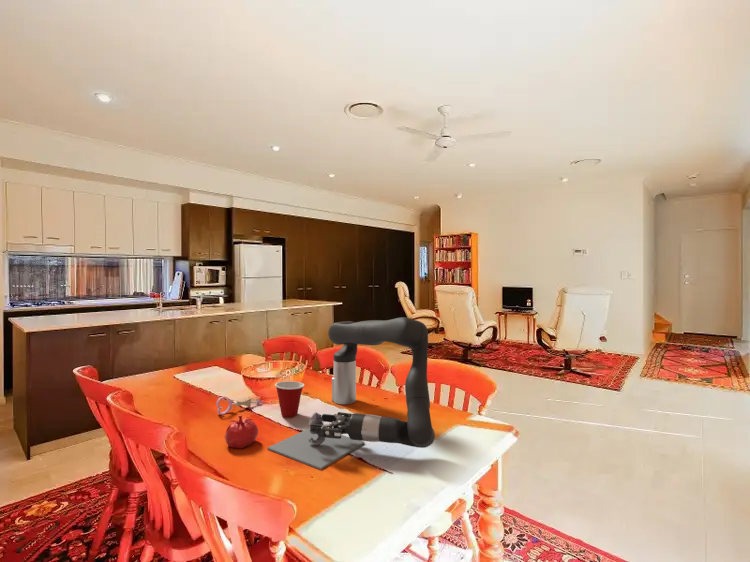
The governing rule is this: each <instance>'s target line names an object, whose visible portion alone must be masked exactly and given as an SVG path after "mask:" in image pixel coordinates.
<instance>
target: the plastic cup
mask: <svg viewBox="0 0 750 562" xmlns="http://www.w3.org/2000/svg"><path fill="white" fill-rule="evenodd" d="M274 385H275V387H276V392H277V393H276V394H277V399H278V404H279V409H280V414H281V416H282V418H286V419H289V418H294V417H295V418H296V416H298V413H299V406H300V403H301V402H300V401H301V396H302V392H303V390H304V386H305V383H303V382H300V381H294V380H293V381H292V380H288V381H287V380H286V381H285V380H284V381H280V382H276V383H275V384H274Z"/></svg>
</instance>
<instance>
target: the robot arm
mask: <svg viewBox="0 0 750 562" xmlns="http://www.w3.org/2000/svg"><path fill="white" fill-rule="evenodd" d="M327 334H328V335H327V336H328V338H329V340H330V341H331V343H332V344H334V345H337V346H340V345H342V347H341V348H340V349H339V350H337V351H335V352H334V353H333V377H331V401H332V402H333V403H335V404H338V405H351V404H355V402H357V397H356V396H357V376H356V375H357V368H356V367H357V361H356V360H357V359H356V358H357V354H358V345H363V346H379V345H382V344H383V343H384V342H387V343H392V344H396V345H399V346H403V347H405V348H406V347H407V348H410V349H411V352H412V353H411V354H412V362H411V366H410V369H409V371H408V373H407V375H406V378H405V379H406V380H405V384H404V385H405V386H404V387H405V388H404V390H405V392H404V393H405V401H406V409H407V414H406V415H407V416H406V417H407V418H406V420H407V421H405V420H401V419H400V418H397V417H396V418H395V417H390V416H389V417H388V416H380V415H376V414H368V413H350V412H340V411H339V412H337V413H333V414H327V413H323V414H321V417H322V422H323V423H324V422H325V423H328V424H324V425H319V424H311V425H310V426H309V428H310V431H311V432H316V433H321V437H324V438H336V439H340V438H341V435H344V434H345V435H347V436H348V437H349V438H350V439H352V440H360V441H363V442H371V443H375V442H376V443H377V442H378V443H386V444H387V443H388V444H400V445H403V446H409V447H414V448H420V449H423V448H425V449H426V448H429V446H432V444H433V443H434V441H435V437H436V436H435V430H434V428H433V425H432V421H431V420H432V419H431V411H430V409H431V408H430V407H431V401H430V400H431V399H430V392H429V386H428V385H429V384H428V350H429V331H428V327H427V326H426V324H425V323H423V322H422V321H419V320H418V319H417V320H416V319H413V318H410V317H404V316H403V317H402V316H401V317H395V318H392V319H387V320H381V319H378V320H377V319H373V320H372V319H371V320H370V319H369V320H362V321H361V320H360V321H357V322H355V321H351V320H348V321H338V322H333V323H332V324H331V325H330V326H329V329H328V333H327ZM328 434H329V435H328Z"/></svg>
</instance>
